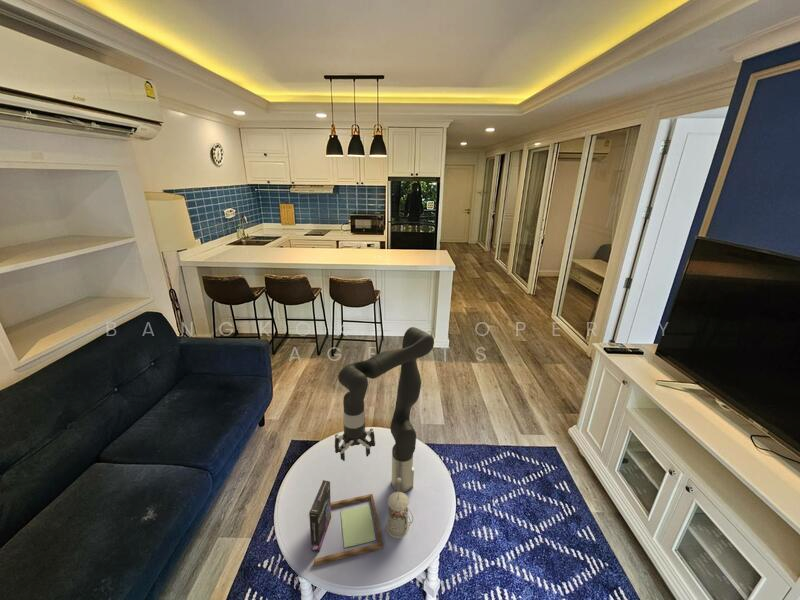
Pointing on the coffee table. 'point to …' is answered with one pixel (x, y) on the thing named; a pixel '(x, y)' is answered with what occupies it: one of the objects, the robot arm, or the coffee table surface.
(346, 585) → the coffee table surface
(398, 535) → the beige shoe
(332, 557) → the bay
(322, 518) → the box
